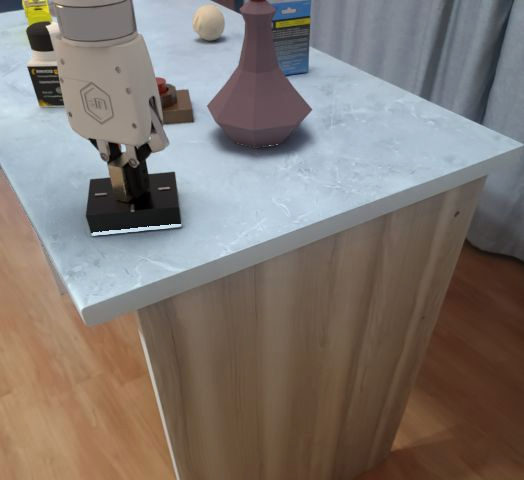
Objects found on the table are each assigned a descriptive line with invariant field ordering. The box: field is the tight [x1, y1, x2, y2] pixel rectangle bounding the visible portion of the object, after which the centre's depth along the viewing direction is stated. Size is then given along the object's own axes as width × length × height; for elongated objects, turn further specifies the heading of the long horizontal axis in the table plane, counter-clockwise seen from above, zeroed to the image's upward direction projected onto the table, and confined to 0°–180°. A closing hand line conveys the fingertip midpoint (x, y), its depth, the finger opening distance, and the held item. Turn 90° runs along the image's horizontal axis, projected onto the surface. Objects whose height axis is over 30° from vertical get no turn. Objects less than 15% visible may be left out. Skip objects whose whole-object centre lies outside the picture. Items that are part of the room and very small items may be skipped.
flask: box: [206, 0, 313, 149], centre depth 75 cm, size 16×16×20 cm
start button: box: [155, 76, 167, 94], centre depth 85 cm, size 4×4×2 cm
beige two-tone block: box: [106, 147, 138, 203], centre depth 63 cm, size 5×2×5 cm, turn 157°
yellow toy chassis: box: [21, 0, 53, 27], centre depth 119 cm, size 16×6×8 cm, turn 19°
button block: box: [159, 83, 195, 126], centre depth 87 cm, size 11×9×4 cm
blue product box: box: [270, 0, 312, 76], centre depth 98 cm, size 9×4×12 cm, turn 110°
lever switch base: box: [85, 171, 182, 234], centre depth 65 cm, size 11×9×3 cm
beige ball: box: [191, 4, 226, 41], centre depth 115 cm, size 7×7×7 cm
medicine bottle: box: [25, 20, 65, 109], centre depth 89 cm, size 7×7×12 cm
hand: (132, 189), depth 64 cm, fingers closed on beige two-tone block, 2 cm apart
